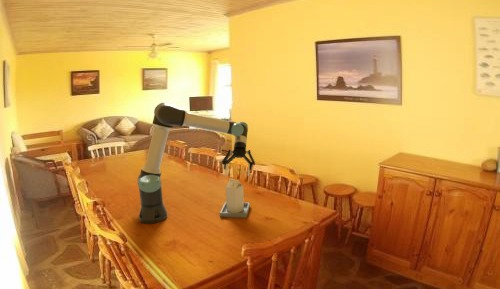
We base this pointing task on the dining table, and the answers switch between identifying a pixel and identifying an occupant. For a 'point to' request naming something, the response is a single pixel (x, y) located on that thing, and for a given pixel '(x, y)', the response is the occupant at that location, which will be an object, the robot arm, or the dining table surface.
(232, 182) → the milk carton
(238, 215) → the gray square tray
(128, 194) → the dining table surface
